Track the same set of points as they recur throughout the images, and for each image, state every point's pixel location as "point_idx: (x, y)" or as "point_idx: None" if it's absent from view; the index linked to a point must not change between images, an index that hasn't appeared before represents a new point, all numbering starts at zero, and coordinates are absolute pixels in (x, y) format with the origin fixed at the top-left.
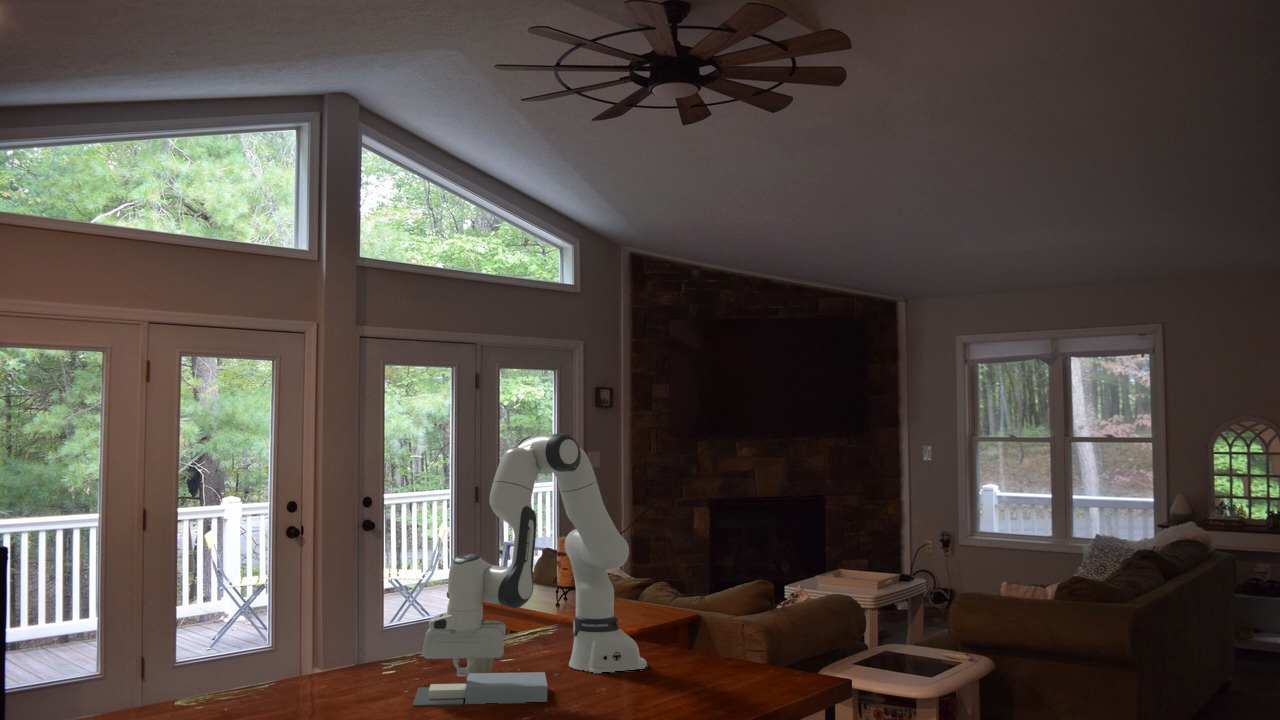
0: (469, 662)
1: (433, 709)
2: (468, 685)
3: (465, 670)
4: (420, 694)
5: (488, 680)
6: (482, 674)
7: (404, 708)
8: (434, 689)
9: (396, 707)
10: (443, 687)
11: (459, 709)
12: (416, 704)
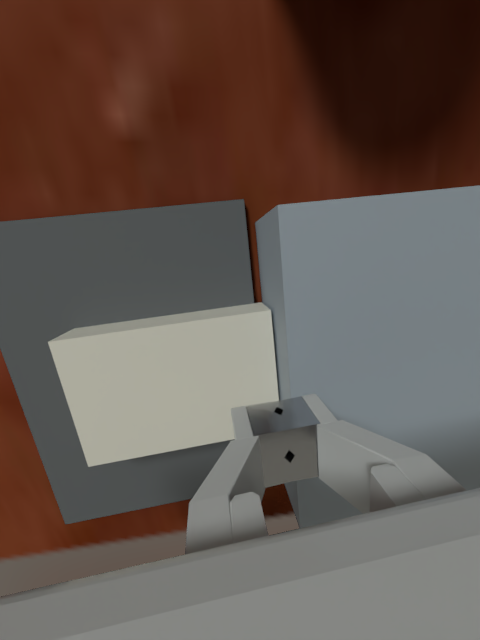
0: (371, 464)
1: (168, 533)
2: (311, 494)
3: (309, 471)
4: (35, 373)
5: (415, 385)
6: (384, 236)
7: (45, 541)
8: (114, 445)
9: (3, 536)
10: (154, 403)
11: (264, 518)
12: (81, 518)
